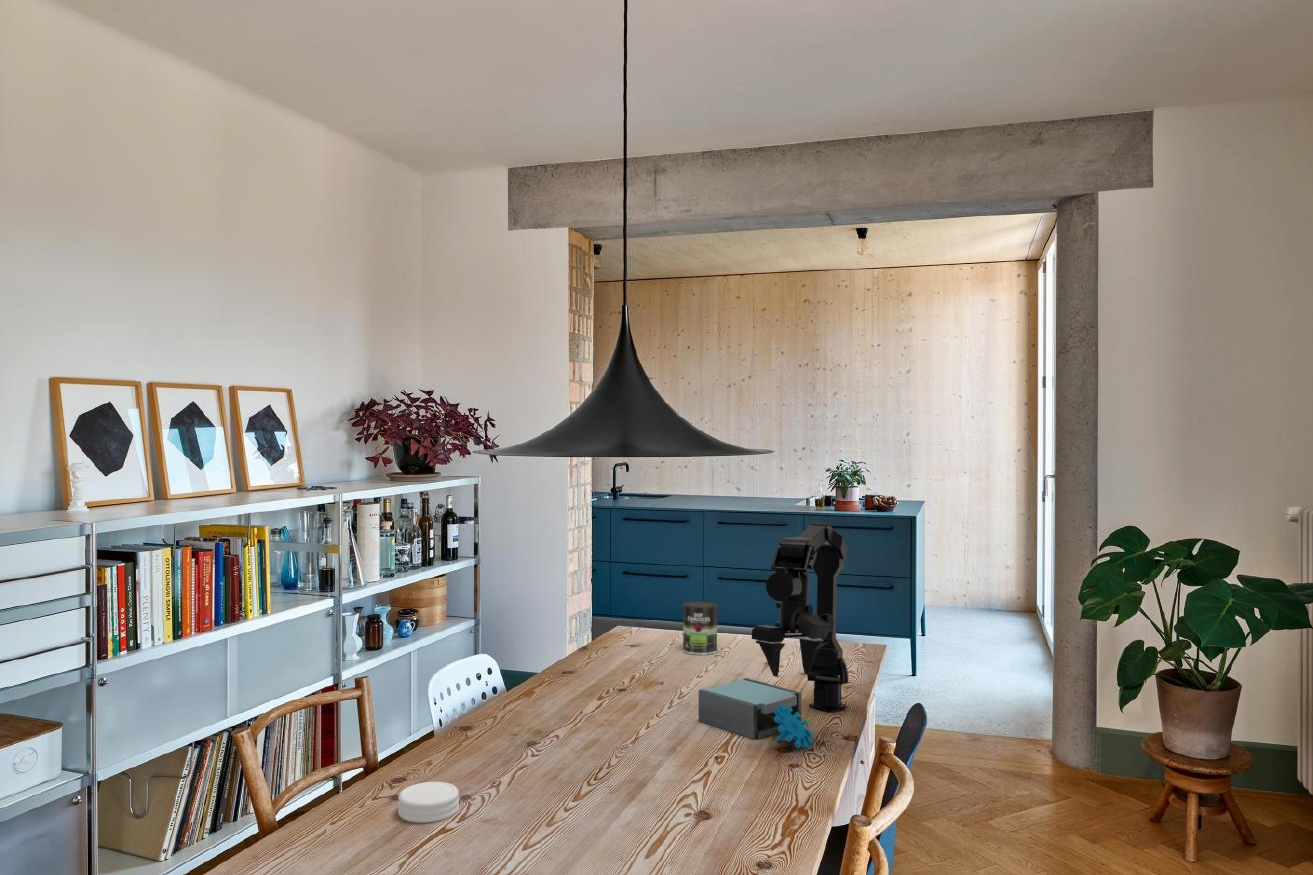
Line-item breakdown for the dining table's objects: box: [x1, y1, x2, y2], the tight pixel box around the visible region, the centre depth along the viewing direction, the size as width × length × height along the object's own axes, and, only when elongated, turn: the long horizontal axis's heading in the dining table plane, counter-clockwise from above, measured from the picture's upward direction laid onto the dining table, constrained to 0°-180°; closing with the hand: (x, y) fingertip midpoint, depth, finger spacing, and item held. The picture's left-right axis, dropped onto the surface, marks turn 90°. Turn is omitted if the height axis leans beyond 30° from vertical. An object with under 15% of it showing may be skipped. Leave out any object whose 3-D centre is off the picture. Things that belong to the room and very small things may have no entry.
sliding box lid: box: [703, 678, 797, 715], centre depth 203 cm, size 13×18×2 cm
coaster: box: [397, 781, 460, 824], centre depth 155 cm, size 10×10×4 cm
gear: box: [773, 705, 814, 750], centre depth 190 cm, size 11×6×10 cm
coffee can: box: [682, 600, 719, 656], centre depth 271 cm, size 10×10×14 cm
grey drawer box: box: [698, 677, 802, 741], centre depth 203 cm, size 16×17×7 cm
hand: (791, 674), depth 189 cm, fingers open, 9 cm apart
